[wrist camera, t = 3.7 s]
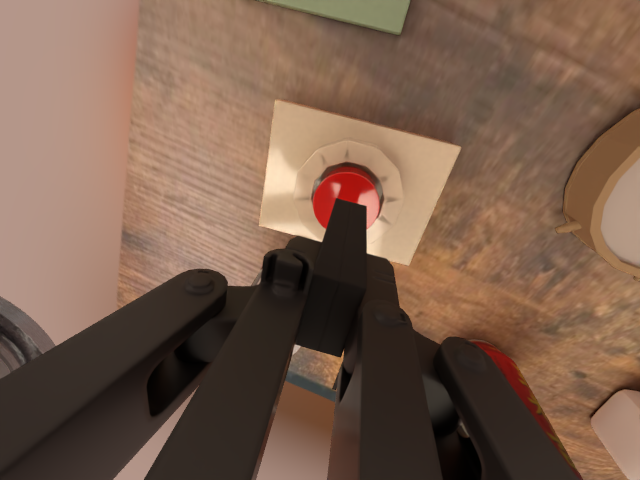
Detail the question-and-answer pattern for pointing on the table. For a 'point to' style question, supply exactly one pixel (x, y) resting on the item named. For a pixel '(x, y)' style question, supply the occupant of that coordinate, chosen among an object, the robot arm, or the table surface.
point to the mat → (355, 11)
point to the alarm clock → (608, 196)
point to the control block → (357, 151)
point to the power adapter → (621, 430)
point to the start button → (346, 193)
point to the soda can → (524, 395)
